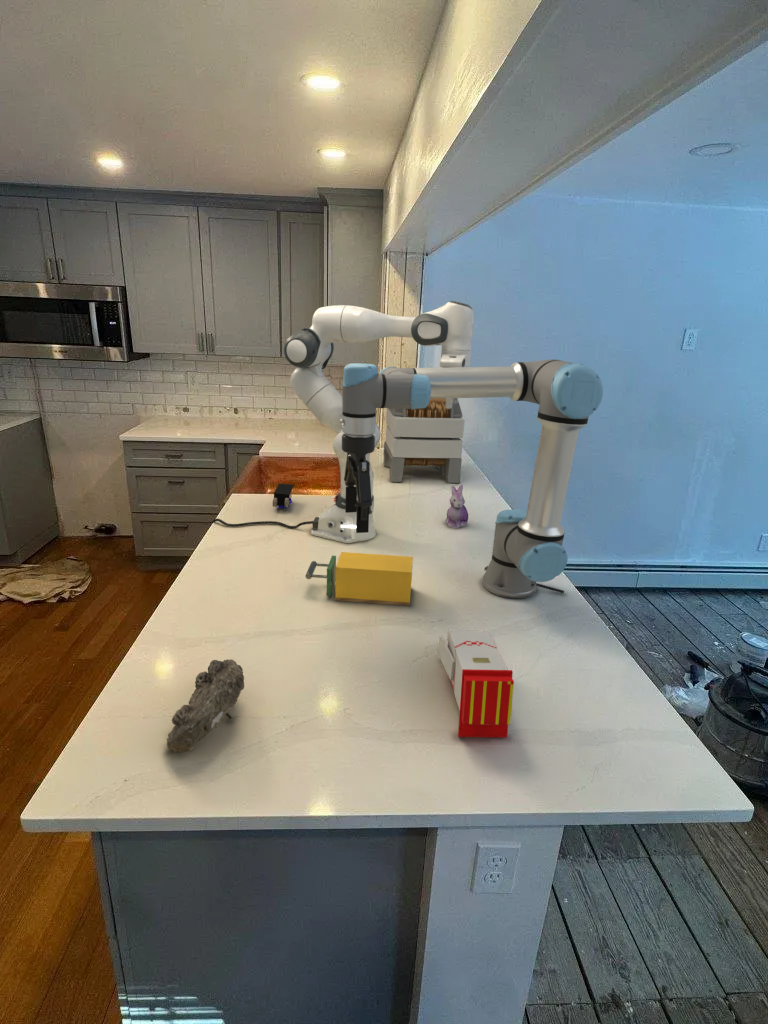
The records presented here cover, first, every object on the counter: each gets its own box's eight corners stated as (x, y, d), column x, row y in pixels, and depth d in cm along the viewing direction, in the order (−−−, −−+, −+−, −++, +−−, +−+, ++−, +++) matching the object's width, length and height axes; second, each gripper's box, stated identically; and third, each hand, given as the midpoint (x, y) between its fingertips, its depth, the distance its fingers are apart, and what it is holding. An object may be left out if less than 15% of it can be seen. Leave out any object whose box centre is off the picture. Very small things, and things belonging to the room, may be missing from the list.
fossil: (192, 660, 117) (244, 628, 112) (224, 691, 120) (276, 661, 115) (142, 746, 98) (202, 712, 93) (182, 779, 101) (242, 748, 96)
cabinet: (335, 600, 153) (335, 567, 150) (340, 583, 162) (341, 551, 159) (409, 605, 152) (412, 572, 148) (410, 588, 161) (412, 556, 158)
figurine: (453, 530, 205) (457, 490, 200) (438, 521, 213) (441, 482, 208) (475, 527, 209) (479, 488, 204) (459, 517, 217) (462, 480, 212)
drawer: (305, 594, 154) (304, 567, 151) (311, 579, 162) (311, 553, 159) (396, 600, 152) (397, 573, 150) (397, 585, 161) (399, 559, 158)
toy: (488, 613, 130) (523, 677, 101) (484, 667, 133) (517, 744, 104) (435, 612, 130) (455, 676, 101) (432, 666, 133) (451, 743, 103)
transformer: (382, 463, 289) (386, 382, 275) (445, 464, 293) (451, 384, 279) (390, 482, 257) (394, 392, 243) (460, 483, 261) (468, 394, 247)
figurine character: (289, 516, 215) (294, 499, 229) (289, 498, 212) (294, 482, 225) (272, 515, 215) (278, 499, 228) (271, 497, 212) (277, 481, 225)
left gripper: (451, 356, 179) (447, 400, 184) (438, 361, 161) (435, 409, 166) (471, 357, 178) (466, 402, 183) (460, 362, 159) (456, 411, 164)
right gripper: (333, 423, 139) (332, 505, 146) (352, 447, 116) (350, 542, 123) (363, 423, 141) (360, 503, 148) (388, 446, 118) (384, 540, 125)
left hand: (451, 405), depth 174 cm, fingers open, 8 cm apart
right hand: (356, 521), depth 136 cm, fingers open, 13 cm apart
